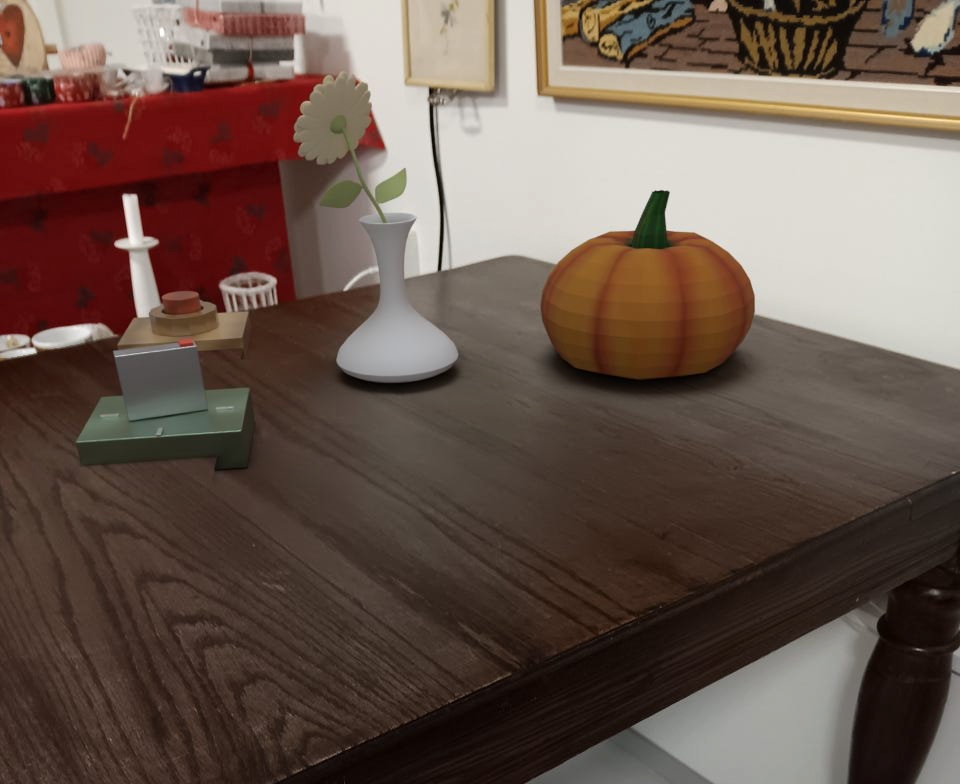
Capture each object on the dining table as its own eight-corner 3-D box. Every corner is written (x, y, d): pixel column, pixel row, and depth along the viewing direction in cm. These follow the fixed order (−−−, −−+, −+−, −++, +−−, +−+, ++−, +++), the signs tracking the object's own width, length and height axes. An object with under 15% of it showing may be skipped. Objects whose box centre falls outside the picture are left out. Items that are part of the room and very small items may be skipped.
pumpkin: (503, 374, 93) (500, 201, 85) (599, 324, 106) (605, 171, 98) (696, 410, 83) (714, 219, 75) (775, 350, 97) (798, 183, 89)
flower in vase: (430, 349, 100) (415, 63, 86) (479, 381, 91) (470, 68, 78) (306, 370, 95) (269, 71, 82) (344, 405, 87) (310, 77, 73)
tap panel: (84, 480, 74) (74, 440, 72) (109, 431, 83) (100, 394, 81) (247, 468, 75) (240, 428, 74) (255, 421, 84) (249, 384, 82)
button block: (121, 367, 97) (112, 326, 95) (138, 338, 106) (129, 300, 104) (245, 359, 99) (239, 318, 96) (251, 331, 107) (246, 293, 105)
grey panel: (129, 421, 76) (113, 353, 73) (127, 414, 77) (111, 347, 74) (208, 409, 78) (196, 342, 75) (205, 403, 79) (193, 337, 76)
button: (162, 318, 99) (159, 300, 98) (167, 309, 102) (164, 292, 101) (199, 316, 99) (196, 298, 98) (203, 307, 102) (200, 290, 101)
